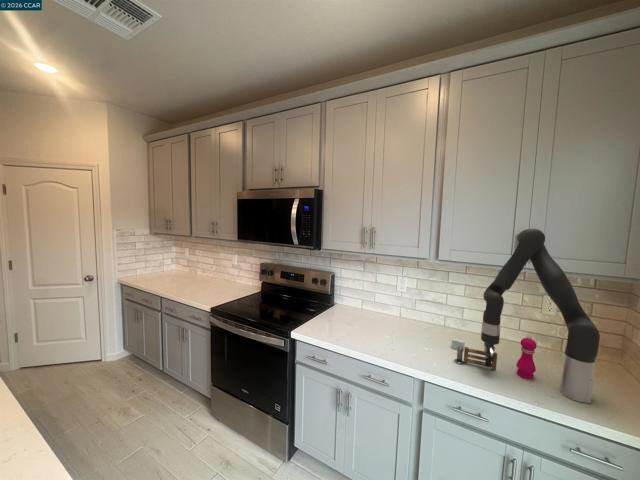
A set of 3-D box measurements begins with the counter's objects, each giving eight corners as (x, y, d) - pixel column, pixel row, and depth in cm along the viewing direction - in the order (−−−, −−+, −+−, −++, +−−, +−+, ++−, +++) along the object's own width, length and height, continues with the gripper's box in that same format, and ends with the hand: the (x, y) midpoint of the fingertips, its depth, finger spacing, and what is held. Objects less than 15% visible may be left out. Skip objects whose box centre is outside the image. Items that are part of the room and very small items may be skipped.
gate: (495, 368, 134) (496, 352, 133) (495, 369, 133) (497, 354, 132) (463, 361, 139) (464, 346, 139) (463, 363, 138) (465, 348, 137)
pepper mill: (527, 381, 125) (531, 339, 123) (512, 372, 132) (516, 333, 130) (538, 379, 127) (543, 338, 125) (523, 370, 134) (527, 331, 132)
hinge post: (464, 362, 140) (466, 347, 139) (463, 365, 136) (464, 350, 136) (455, 359, 143) (456, 344, 142) (453, 362, 139) (454, 347, 138)
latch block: (464, 349, 153) (464, 341, 152) (463, 351, 150) (463, 343, 150) (452, 346, 157) (453, 337, 156) (451, 348, 154) (452, 339, 154)
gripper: (503, 338, 122) (500, 375, 123) (496, 328, 134) (494, 361, 135) (484, 335, 125) (481, 371, 126) (479, 325, 137) (476, 358, 138)
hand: (487, 366), depth 131 cm, fingers closed
